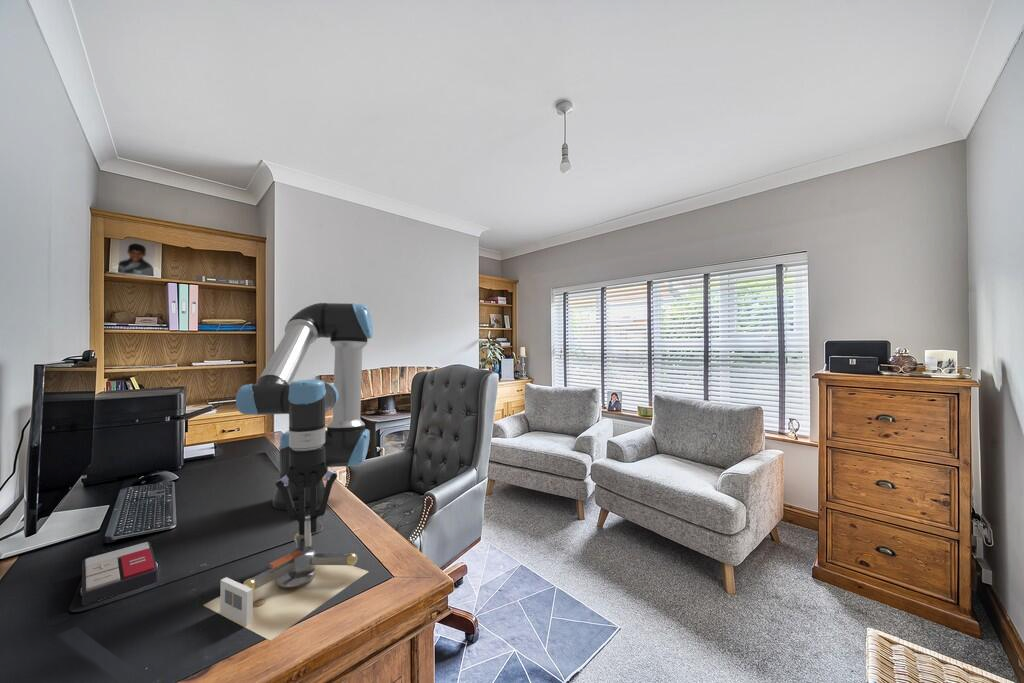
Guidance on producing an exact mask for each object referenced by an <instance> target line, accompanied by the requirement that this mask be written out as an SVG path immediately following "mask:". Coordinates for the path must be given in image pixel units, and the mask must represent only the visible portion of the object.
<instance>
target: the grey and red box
mask: <svg viewBox="0 0 1024 683" xmlns="http://www.w3.org/2000/svg"><path fill="white" fill-rule="evenodd" d="M81 563H82V564H81V588H82V589H81V606H82V605H86V606H88V605H87V604H89V605H91V604H90V603H92V604H94V603H93V602H95V603H97V602H96V601H98V600H101V599H104V598H106V597H109V596H112V595H116V596H118V595H117V594H119V595H123V594H124V593H129V592H131V591H133V590H136V589H137V590H138V589H139V588H143V587H146V586H148V585H152V584H155V583H157V582H158V580H159V568H158V564H157V561H156V558H155V554H154V551H153V547H152V544H151V541H146V542H145V541H144V542H141V543H138V544H137V543H136V544H135V545H130V546H127V547H124V548H123V547H122V548H120V549H116V550H112V551H109V552H105V553H102V554H98V555H95V556H89V557H87V558H85V559H84V560H82V561H81ZM104 600H105V599H104ZM101 601H102V600H101ZM98 602H99V601H98Z"/></svg>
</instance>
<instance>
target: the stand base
mask: <svg viewBox="0 0 1024 683" xmlns="http://www.w3.org/2000/svg"><path fill="white" fill-rule="evenodd" d="M369 572H370V571H368V570H366V569H362V568H360V567H357V566H354V565H352V566H348V565H315V576H314V578H313V579H312V580H311V581H310V582H309V583H307V584H305V585H303V586H300V587H297V588H293V589H283V588H280V587H278V585H277V578H276V579H274V580H272V581H270V582H269V583H267V584H265V585H263V586H261V587H259V588H257V589H255V590H253V622H252V623H251V624H249V625H248V626H246V625H244V624H242V623H240V622H238V621H236V620H234V619H232V618H230V617H228V616H226V615H225V614H223V613H221V612H220V596H217V597H216V598H214V599H212V600H210V601H208V602H207V603H205V604H203V607H205V608H207V609H209V610H211V611H213V612H214V613H216V614H219V615H220V616H222V617H225V618H226V619H228V620H230V621H231V622H234V623H236V624H238V625H240V626H241V627H243V628H245V629H247V630H249V631H250V632H252V633H255V634H257V635H259V636H260V637H263V638H264V639H266V640H268V641H270V642H271V641H272V640H274V639H275V638H277V637H278V636H279V635H282V633H284V632H286V630H288V629H289V628H291V627H292V626H294V625H296V624H297V623H298V622H299V621H301V620H302V619H304V618H305V617H306V616H308V615H309V614H311V613H312V612H313V611H315V610H317V609H318V608H319V607H321V606H322V605H324V604H325V603H327V602H328V601H329V600H331V599H332V598H334V597H335V596H337V595H338V594H339V593H341V592H342V591H344V590H346V588H348V587H349V586H351V585H352V584H353V583H355V582H356V581H358V580H359V579H360V578H362V577H364V575H366V574H368V573H369Z"/></svg>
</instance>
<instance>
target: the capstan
mask: <svg viewBox="0 0 1024 683" xmlns="http://www.w3.org/2000/svg"><path fill="white" fill-rule="evenodd" d="M293 537H294V542H295V543H296V544H295V545H296V548H295V549H293V550H292V551H290V552H289V553H288V554H287V555H284V556H281V557H279V558H278V559H276V560H273V561H271V562H270V563H269V564H268V568H269V569H267V570H265V571H263V572H261V573H259V574H257V575H255V576H253V577H251V578H247V579H246V580H244V581H243V583H242V584H243V585H245V586H247V587H249V588H252V589H253V590H255V589H257V588H259V587H261V586H263V585H265V584H267V583H269V582H270V581H272V580H274V579H276V578H277V585H278V587H280V588H283V589H293V588H297V587H300V586H303V585H305V584H307V583H309V582H310V581H311V580H312V579H313V578H314V576H315V565H348V566H354V565H356V563H357V562H358V555H357V553H355V552H351V553H324V552H323V553H319V552H316V548H315V546H311V547H310V546H306V547H305V535H300V534H299V531H298V532H297V533H295V535H294V536H293Z"/></svg>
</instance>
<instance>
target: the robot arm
mask: <svg viewBox="0 0 1024 683" xmlns="http://www.w3.org/2000/svg"><path fill="white" fill-rule="evenodd" d="M318 338H324V339H325V338H327V339H329V340H330V344H331V345H332V346H333V347H334V364H333V365H334V369H333V372H334V373H333V384H332V383H330V382H325V381H323V380H321V379H299V380H294V378H295V377H296V375H297V372H298V370H299V368H300V366H301V364H302V362H303V360H304V358H305V356H306V354H307V351H308V350H309V348H310V346H311V345H312V344H313V343H315V342H316V340H317V339H318ZM372 338H373V321H372V316H371V312H370V309H369V307H368V306H367V305H365V304H359V303H353V302H352V303H339V302H338V303H333V302H330V303H329V302H328V303H327V302H318V303H314V304H311V305H310V304H309V305H308V306H306V307H304V308H302V309H300V310H299V311H298V312H296V313H295V314H294V315H293V316H292V317H291V318H290V319H289V320H288V321H287V323H286V325H285V326H284V335H283V337H282V339H281V340H280V342H279V344H278V345H277V347H276V348H275V350H274V352H273V353H272V355H271V358H270V359H269V360H268V362H267V364H266V366H265V367H264V370H263V371H262V373H261V374H260V376H259V378H258V380H257V381H256V383H255V384H254V383H250V384H244V385H241V386H240V387H239V388H238V390H237V393H236V397H235V405H236V409H237V410H238V412H239V413H240V414H243V415H249V416H250V415H252V416H253V415H255V416H263V415H285V414H286V415H288V431H285V432H284V433H282V434H281V436H280V440H279V447H278V449H279V476H278V477H279V478H278V479H277V480H276V482H275V486H276V489H275V492H274V494H273V497H272V507H274V509H278V510H281V511H282V510H284V511H287V514H288V518H289V520H290V521H291V522H294V521H297V522H298V532H299V534H300V535H305V547H306V546H310V547H312V534H314V533H316V532H317V520H318V518H319V517H321V516H322V517H323V516H324V515H325V512H326V509H327V507H328V502H329V497H330V495H331V490H332V487H333V484H334V483H335V481H336V480H337V478H338V472H337V471H336V470H330V469H329V468H338V467H347V468H349V467H355V466H360V465H362V464H363V463H364V462H365V460H366V457H367V454H368V451H369V446H370V445H369V444H370V440H371V439H370V438H371V436H370V434H371V431H370V430H369V429H367V428H366V424H365V422H364V421H363V420H362V419H361V410H362V409H361V407H362V406H361V404H362V402H361V401H362V378H363V377H362V375H363V374H362V373H363V372H362V371H363V349H364V348H365V347H366V345H368V339H369V340H370V339H372ZM293 380H294V381H293ZM330 410H332V420H331V421H330V422H329V423H328V424H327V427H326V412H329V411H330ZM324 477H325V480H326V483H325V484H324V481H323V479H324ZM319 503H320V505H319V508H318V509H317V504H319ZM305 507H306V508H310V509H309V510H310V512H309V513H310V514H309V516H306V508H305ZM297 510H298V512H297Z"/></svg>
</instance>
